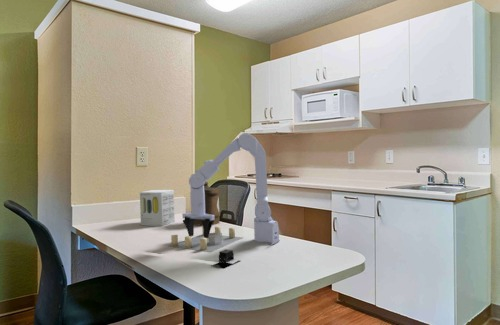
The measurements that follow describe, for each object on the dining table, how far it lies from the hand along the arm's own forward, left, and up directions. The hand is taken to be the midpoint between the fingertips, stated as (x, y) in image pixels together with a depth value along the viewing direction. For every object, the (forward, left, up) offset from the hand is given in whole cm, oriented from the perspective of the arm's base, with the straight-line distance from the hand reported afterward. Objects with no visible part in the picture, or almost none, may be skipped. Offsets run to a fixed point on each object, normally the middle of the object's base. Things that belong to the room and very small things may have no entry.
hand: (198, 237), depth 141 cm
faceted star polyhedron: (-8, 0, -2) cm, 8 cm away
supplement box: (+47, -27, -3) cm, 54 cm away
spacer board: (-4, 0, -3) cm, 5 cm away
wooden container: (+24, -38, -3) cm, 45 cm away
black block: (-24, +18, -3) cm, 30 cm away
